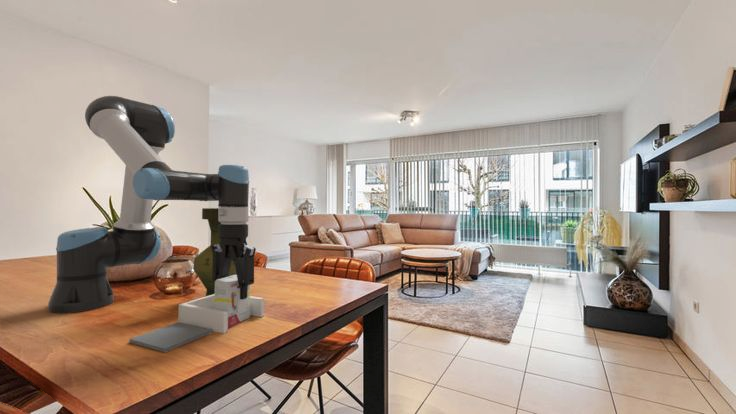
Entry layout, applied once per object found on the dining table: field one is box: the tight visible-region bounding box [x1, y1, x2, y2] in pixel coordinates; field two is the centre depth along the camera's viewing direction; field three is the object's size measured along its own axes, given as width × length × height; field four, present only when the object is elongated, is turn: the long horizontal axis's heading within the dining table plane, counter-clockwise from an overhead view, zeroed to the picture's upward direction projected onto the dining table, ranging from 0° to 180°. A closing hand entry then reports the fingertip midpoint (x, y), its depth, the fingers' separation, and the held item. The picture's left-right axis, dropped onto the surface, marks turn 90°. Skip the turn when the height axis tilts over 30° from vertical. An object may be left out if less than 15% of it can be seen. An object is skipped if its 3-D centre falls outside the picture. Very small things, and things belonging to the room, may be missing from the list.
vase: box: [192, 207, 237, 297], centre depth 110 cm, size 16×16×30 cm
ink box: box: [214, 275, 251, 328], centre depth 90 cm, size 9×5×12 cm, turn 160°
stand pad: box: [129, 321, 213, 353], centre depth 79 cm, size 12×12×1 cm
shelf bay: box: [177, 294, 265, 334], centre depth 91 cm, size 16×14×5 cm
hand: (232, 309), depth 90 cm, fingers closed on ink box, 5 cm apart
